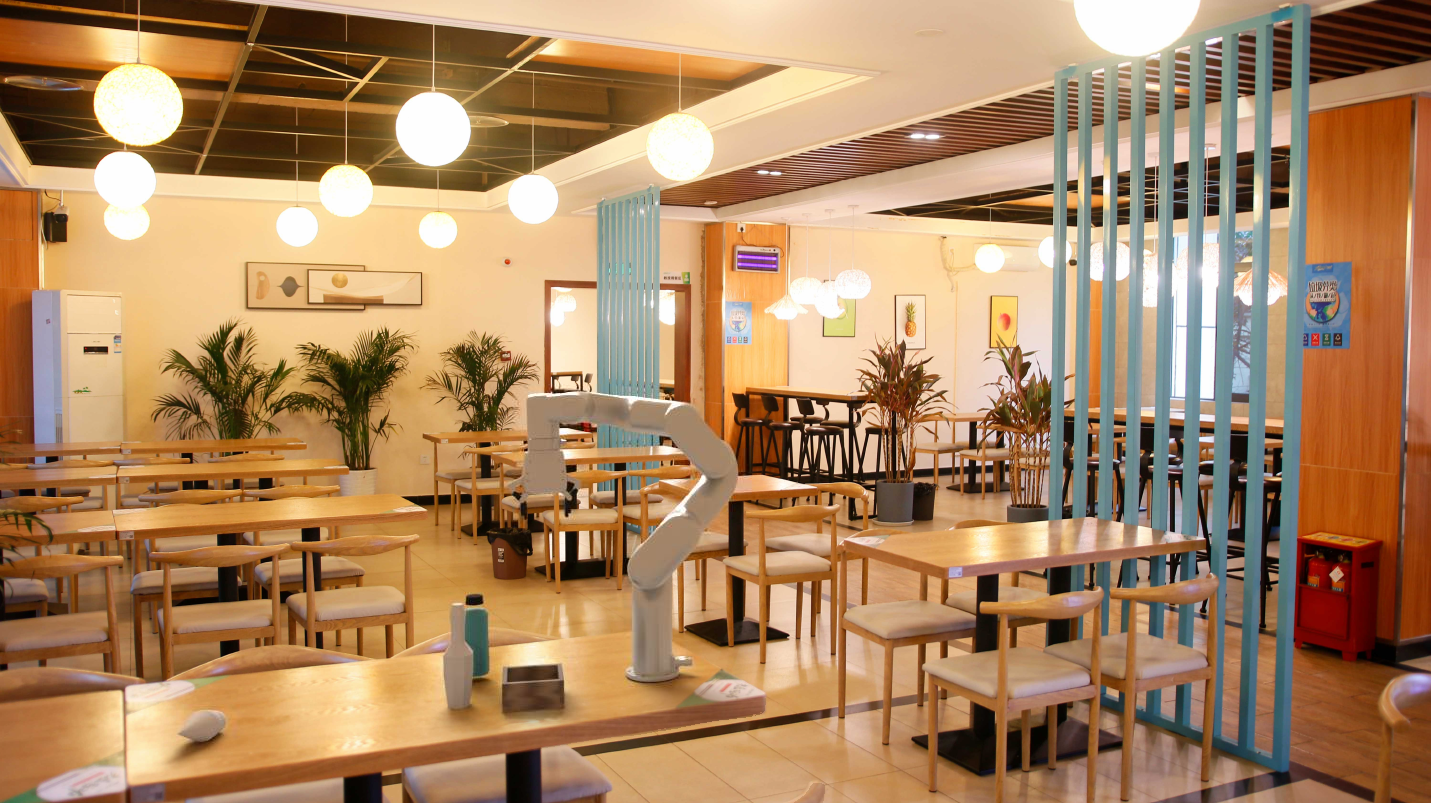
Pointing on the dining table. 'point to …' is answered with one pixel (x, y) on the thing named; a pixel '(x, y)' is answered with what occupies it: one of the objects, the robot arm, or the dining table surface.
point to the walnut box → (532, 687)
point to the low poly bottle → (458, 662)
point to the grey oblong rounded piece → (203, 725)
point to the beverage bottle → (477, 634)
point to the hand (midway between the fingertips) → (546, 517)
